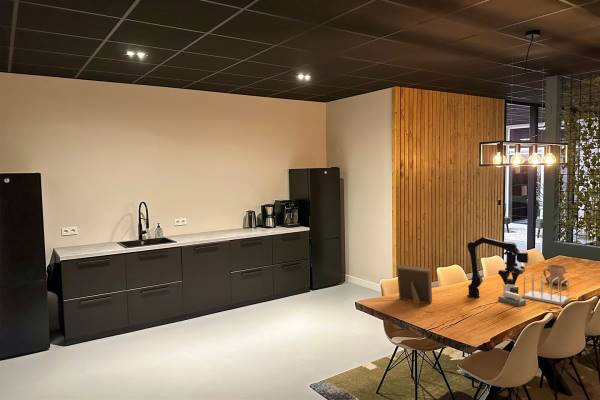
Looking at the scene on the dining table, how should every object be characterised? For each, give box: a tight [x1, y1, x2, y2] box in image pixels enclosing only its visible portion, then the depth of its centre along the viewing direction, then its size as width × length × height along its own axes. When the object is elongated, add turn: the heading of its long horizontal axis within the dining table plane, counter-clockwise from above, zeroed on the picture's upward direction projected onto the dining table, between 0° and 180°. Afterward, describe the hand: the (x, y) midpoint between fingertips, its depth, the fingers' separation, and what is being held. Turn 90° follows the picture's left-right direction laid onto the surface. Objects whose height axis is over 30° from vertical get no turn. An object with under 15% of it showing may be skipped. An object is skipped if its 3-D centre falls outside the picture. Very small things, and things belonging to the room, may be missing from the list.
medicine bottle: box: [502, 277, 519, 295], centre depth 318 cm, size 7×7×12 cm
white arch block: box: [504, 291, 521, 301], centre depth 302 cm, size 10×3×6 cm, turn 29°
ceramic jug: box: [542, 264, 570, 286], centre depth 346 cm, size 18×14×14 cm
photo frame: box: [396, 264, 433, 308], centre depth 303 cm, size 15×22×25 cm
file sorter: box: [522, 272, 571, 306], centre depth 310 cm, size 25×17×16 cm
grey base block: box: [497, 295, 527, 307], centre depth 302 cm, size 15×8×3 cm, turn 30°
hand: (510, 283), depth 302 cm, fingers open, 9 cm apart
